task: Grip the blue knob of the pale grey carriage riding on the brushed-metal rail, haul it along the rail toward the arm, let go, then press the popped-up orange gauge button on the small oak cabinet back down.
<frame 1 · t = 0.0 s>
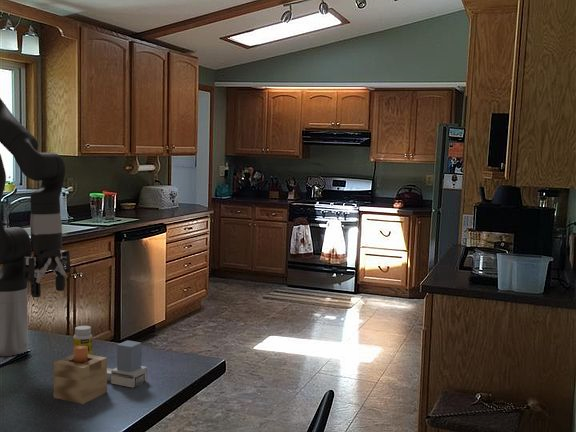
hand: (48, 293, 168), 17 cm above the kitchen island, tool pointing down, fingers open, 8 cm apart
rail: (108, 378, 156), on the kitchen island
gauge cabinet: (80, 394, 146), on the kitchen island
gauge button: (80, 354, 145), point 9 cm above the kitchen island, slide at 2.5 cm
supplement bottle: (82, 359, 170), on the kitchen island
carriage: (129, 362, 153), point 5 cm above the kitchen island, slide at 6.0 cm
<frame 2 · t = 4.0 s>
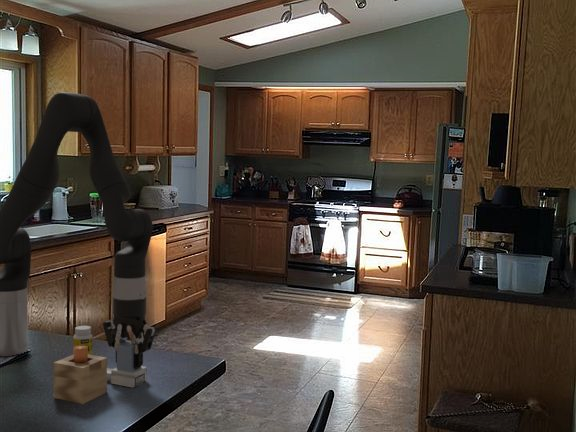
hand: (129, 366, 154), 4 cm above the kitchen island, tool pointing down, fingers closed on carriage, 4 cm apart
carriage: (129, 362, 153), point 5 cm above the kitchen island, slide at 6.0 cm, touching gripper
everything else where it was.
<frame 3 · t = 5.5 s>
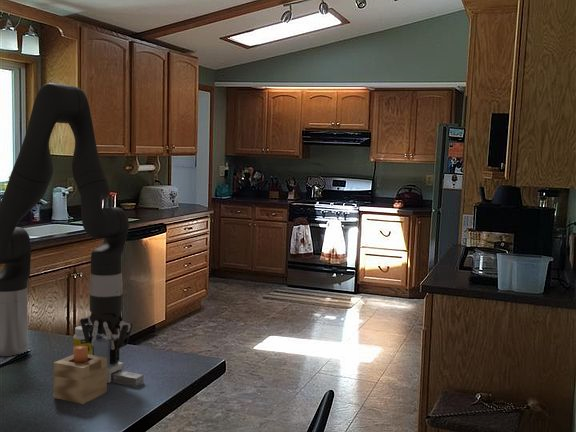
hand: (106, 361, 156), 4 cm above the kitchen island, tool pointing down, fingers closed on carriage, 4 cm apart
carriage: (106, 358, 156), point 5 cm above the kitchen island, slide at -0.7 cm, touching gripper
everything else where it was.
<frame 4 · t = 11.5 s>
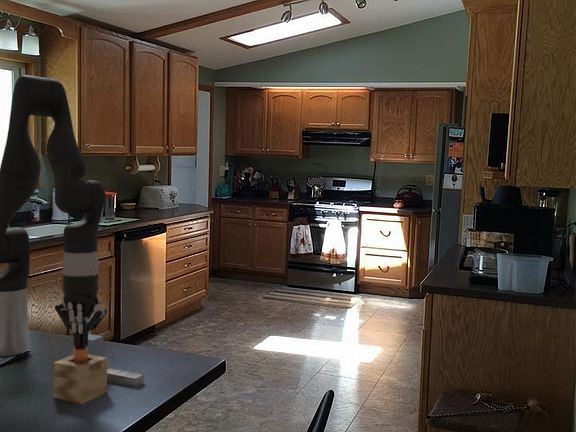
hand: (80, 348, 145), 11 cm above the kitchen island, tool pointing down, fingers closed
gauge button: (80, 355, 145), point 9 cm above the kitchen island, slide at 2.3 cm, touching gripper
carriage: (91, 355, 158), point 5 cm above the kitchen island, slide at -5.0 cm
everything else where it was.
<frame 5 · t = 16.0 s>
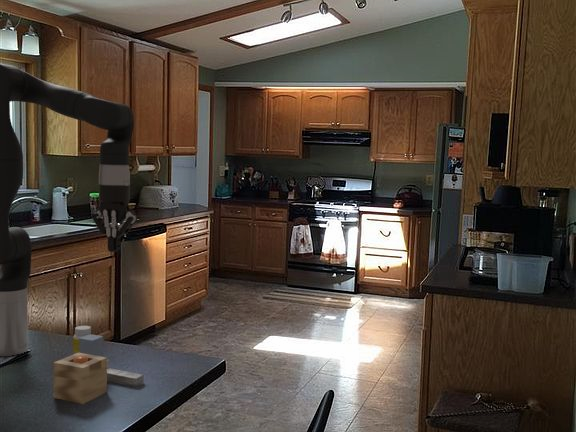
hand: (114, 251, 165), 29 cm above the kitchen island, tool pointing down, fingers closed
gauge button: (80, 363, 145), point 7 cm above the kitchen island, slide at 0.3 cm
everything else where it was.
at the end: carriage slide at -5.0 cm; gauge button slide at 0.3 cm; the gripper is holding nothing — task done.
